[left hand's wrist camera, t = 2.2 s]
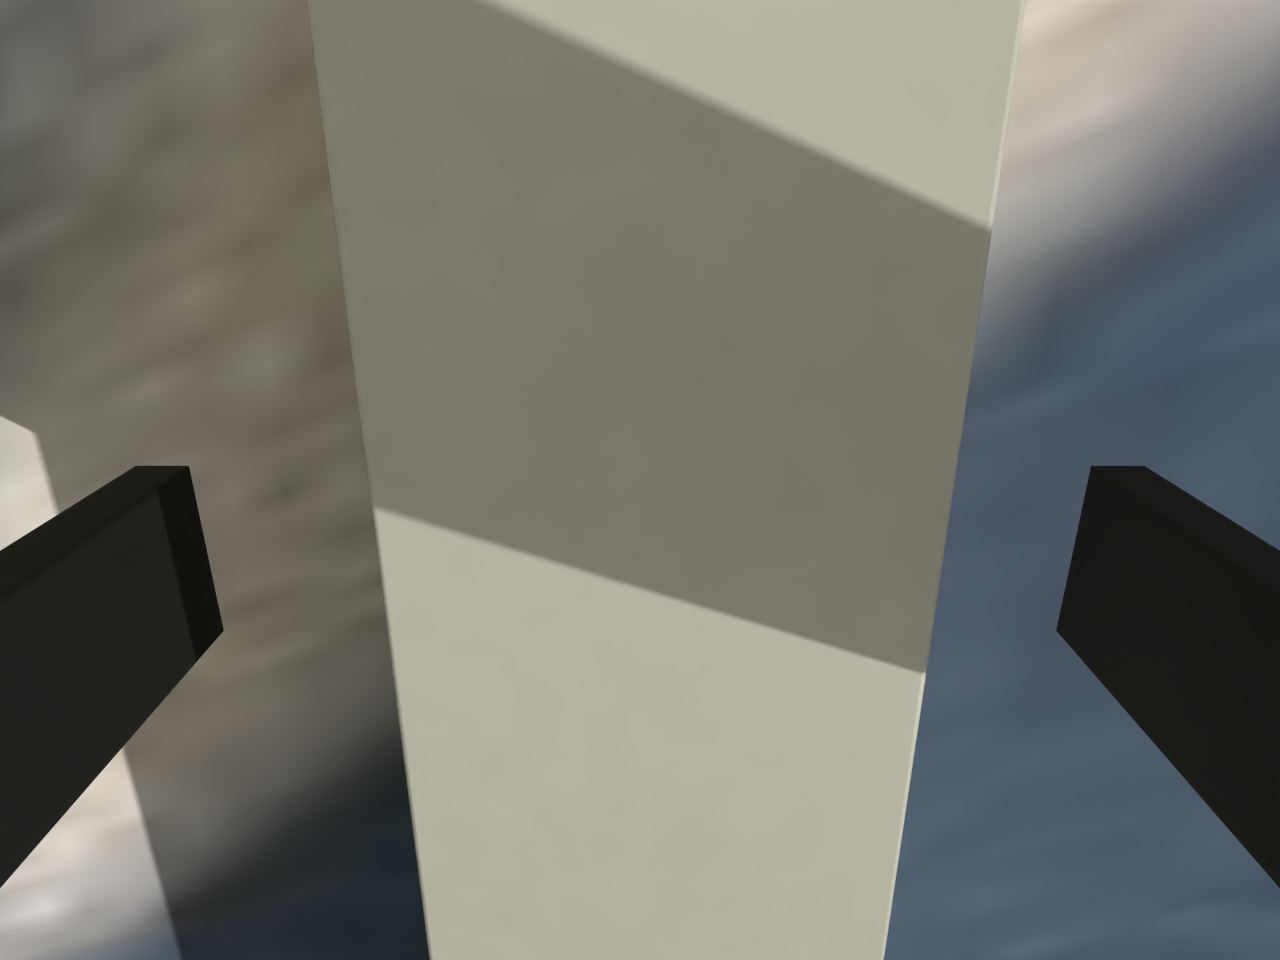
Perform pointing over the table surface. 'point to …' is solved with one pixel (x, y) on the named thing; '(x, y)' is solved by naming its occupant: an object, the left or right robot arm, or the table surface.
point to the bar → (661, 443)
